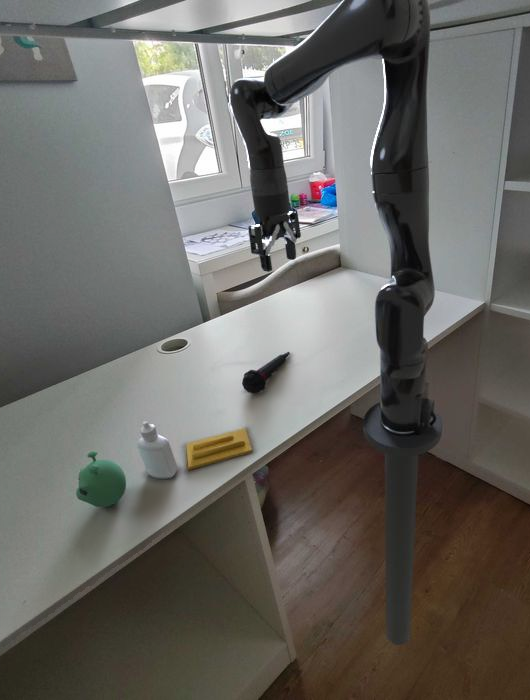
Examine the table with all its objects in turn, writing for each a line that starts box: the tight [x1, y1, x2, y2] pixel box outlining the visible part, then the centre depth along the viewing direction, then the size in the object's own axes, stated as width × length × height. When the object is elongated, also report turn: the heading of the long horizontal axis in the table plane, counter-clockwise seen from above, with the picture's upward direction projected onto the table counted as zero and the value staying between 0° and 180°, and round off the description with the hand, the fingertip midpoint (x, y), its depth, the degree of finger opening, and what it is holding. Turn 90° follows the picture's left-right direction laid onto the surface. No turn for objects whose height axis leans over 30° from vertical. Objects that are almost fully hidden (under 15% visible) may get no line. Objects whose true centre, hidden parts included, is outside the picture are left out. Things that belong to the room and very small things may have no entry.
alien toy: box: [75, 450, 127, 508], centre depth 75 cm, size 7×8×10 cm
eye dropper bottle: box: [136, 420, 179, 479], centre depth 80 cm, size 4×6×12 cm
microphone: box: [241, 351, 290, 394], centre depth 109 cm, size 6×6×20 cm
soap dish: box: [185, 427, 253, 470], centre depth 87 cm, size 12×7×2 cm, turn 110°
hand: (280, 264), depth 100 cm, fingers open, 8 cm apart
